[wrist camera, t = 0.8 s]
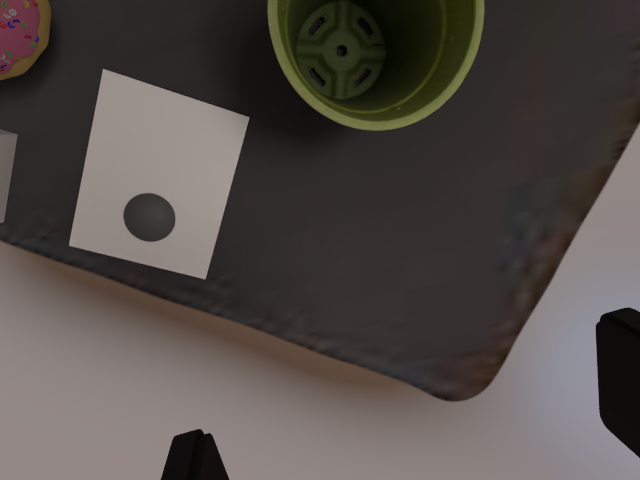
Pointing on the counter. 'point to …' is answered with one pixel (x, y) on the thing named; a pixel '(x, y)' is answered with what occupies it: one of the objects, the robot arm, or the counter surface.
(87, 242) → the paper
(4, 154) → the button housing
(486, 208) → the counter surface
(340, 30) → the plant pot
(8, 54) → the cupcake
